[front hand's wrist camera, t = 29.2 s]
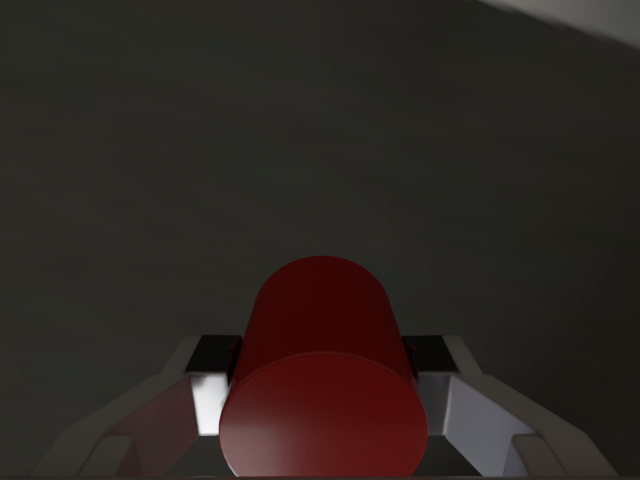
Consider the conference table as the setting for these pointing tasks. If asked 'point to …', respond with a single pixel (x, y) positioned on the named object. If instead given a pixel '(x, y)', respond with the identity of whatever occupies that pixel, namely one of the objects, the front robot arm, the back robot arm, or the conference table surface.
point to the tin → (322, 380)
